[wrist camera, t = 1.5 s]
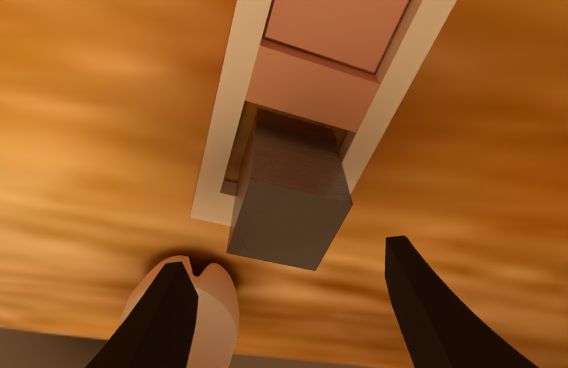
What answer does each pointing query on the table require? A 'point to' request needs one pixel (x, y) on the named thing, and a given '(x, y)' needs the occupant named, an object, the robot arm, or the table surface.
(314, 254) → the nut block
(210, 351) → the water bottle
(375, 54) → the beige rectangular frame
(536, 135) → the table surface
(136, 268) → the table surface
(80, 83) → the table surface
